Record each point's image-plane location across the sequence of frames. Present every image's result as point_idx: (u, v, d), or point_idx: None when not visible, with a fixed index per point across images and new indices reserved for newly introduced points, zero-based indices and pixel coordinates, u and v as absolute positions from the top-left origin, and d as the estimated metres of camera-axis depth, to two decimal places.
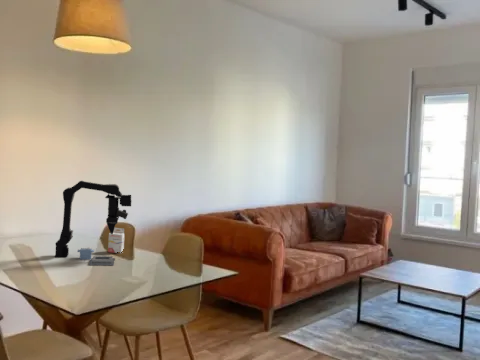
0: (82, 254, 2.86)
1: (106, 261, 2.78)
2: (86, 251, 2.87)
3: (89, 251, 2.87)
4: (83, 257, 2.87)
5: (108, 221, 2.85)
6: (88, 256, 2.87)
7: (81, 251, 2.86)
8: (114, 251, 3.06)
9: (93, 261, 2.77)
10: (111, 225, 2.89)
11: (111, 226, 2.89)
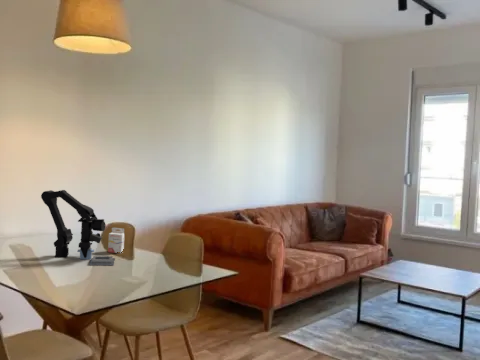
0: (82, 254, 2.86)
1: (106, 261, 2.78)
2: None
3: (89, 251, 2.87)
4: (83, 257, 2.87)
5: (80, 246, 2.79)
6: (88, 256, 2.87)
7: (81, 251, 2.86)
8: (114, 251, 3.06)
9: (93, 261, 2.77)
10: (84, 249, 2.85)
11: (84, 250, 2.85)
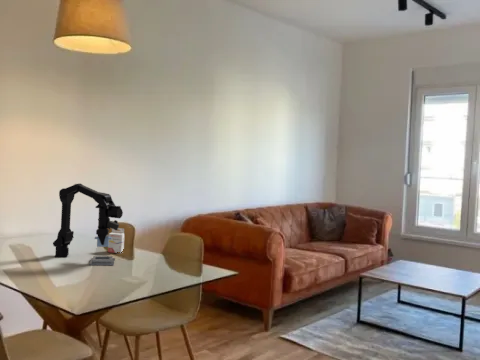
0: (99, 241, 2.79)
1: (106, 261, 2.78)
2: None
3: (107, 238, 2.79)
4: (100, 244, 2.79)
5: (98, 233, 2.71)
6: (105, 243, 2.79)
7: (98, 238, 2.78)
8: (114, 251, 3.06)
9: (93, 261, 2.77)
10: (102, 236, 2.77)
11: (102, 237, 2.77)
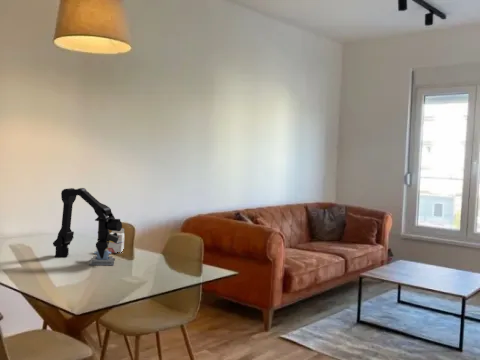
0: (99, 256, 2.79)
1: (106, 261, 2.78)
2: None
3: (106, 253, 2.80)
4: None
5: (98, 246, 2.72)
6: (105, 258, 2.80)
7: (98, 253, 2.79)
8: (114, 251, 3.06)
9: (93, 261, 2.77)
10: (101, 249, 2.76)
11: (101, 250, 2.76)
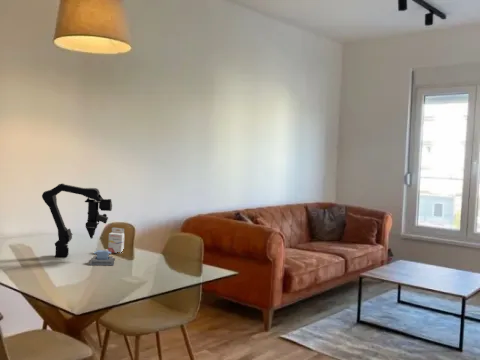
0: (99, 256, 2.79)
1: (106, 261, 2.78)
2: (103, 253, 2.80)
3: (106, 253, 2.80)
4: None
5: (87, 226, 2.81)
6: (105, 258, 2.80)
7: (98, 253, 2.79)
8: (114, 251, 3.06)
9: (93, 261, 2.77)
10: (91, 230, 2.85)
11: (91, 231, 2.85)
